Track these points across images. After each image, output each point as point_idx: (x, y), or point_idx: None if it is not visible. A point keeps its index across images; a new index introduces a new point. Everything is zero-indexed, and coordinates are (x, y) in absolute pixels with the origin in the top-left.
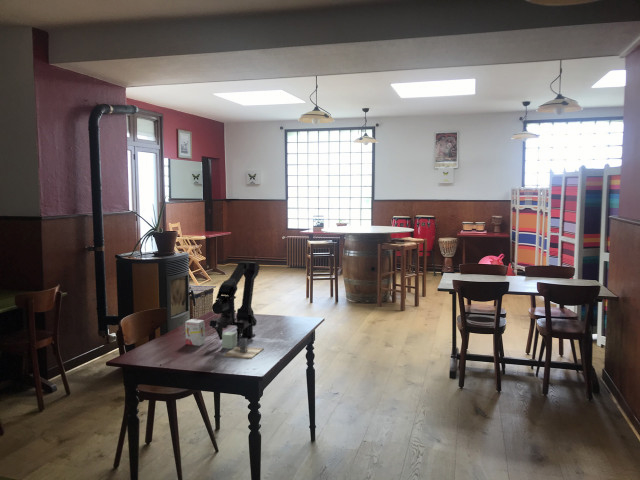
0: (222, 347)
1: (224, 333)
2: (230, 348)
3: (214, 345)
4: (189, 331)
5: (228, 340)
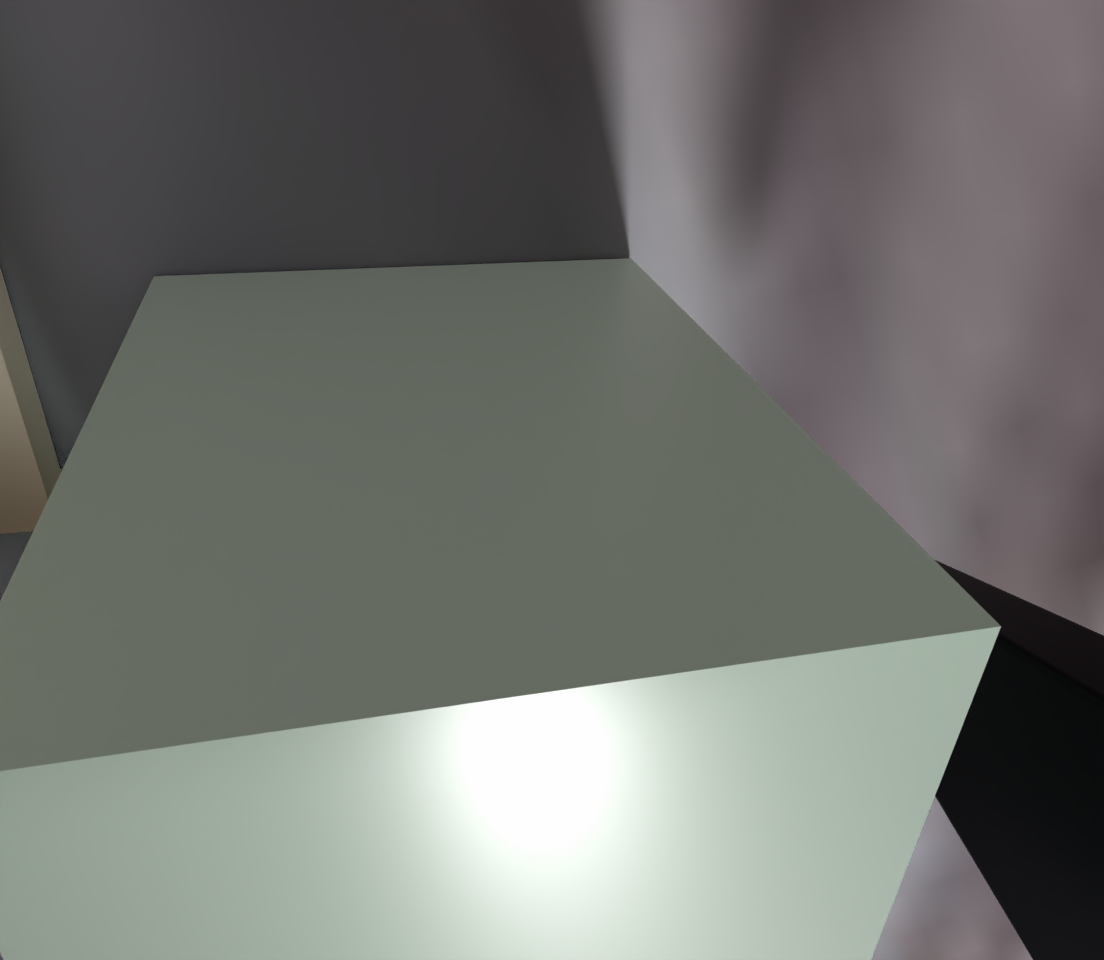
0: (633, 261)
1: (872, 875)
2: (243, 277)
3: (991, 415)
4: None
5: (338, 439)
